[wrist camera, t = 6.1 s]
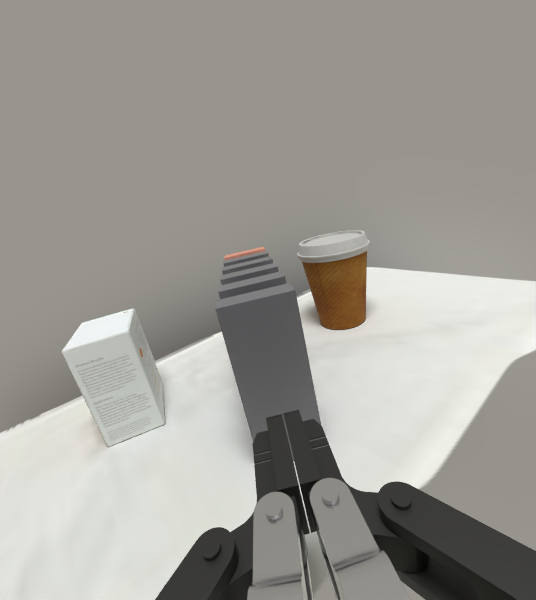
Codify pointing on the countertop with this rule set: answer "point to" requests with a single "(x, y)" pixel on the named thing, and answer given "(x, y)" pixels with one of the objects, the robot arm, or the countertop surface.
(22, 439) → the countertop surface
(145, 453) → the countertop surface
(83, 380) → the small box
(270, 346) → the domino
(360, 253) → the disposable coffee cup
